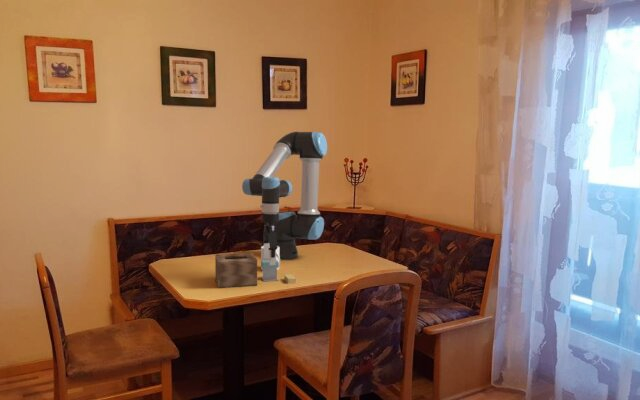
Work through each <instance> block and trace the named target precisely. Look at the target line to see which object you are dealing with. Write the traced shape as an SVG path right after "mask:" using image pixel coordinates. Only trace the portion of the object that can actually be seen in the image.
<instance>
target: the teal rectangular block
mask: <svg viewBox="0 0 640 400" xmlns="http://www.w3.org/2000/svg"><path fill="white" fill-rule="evenodd" d="M278 263H279V262H278V261H277V260H276V265H269V260H266V261H261V260H260V268H261V267H262V268H272V267H278Z"/></svg>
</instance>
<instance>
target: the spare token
mask: <svg viewBox="0 0 640 400" xmlns="http://www.w3.org/2000/svg"><path fill="white" fill-rule="evenodd" d="M283 277H284V278H283V280H284V281H285V282H286V283H287V284H288V285H291V284H297V278H296V276H295V275H293V274H292V273H291V274H290V273H289V274H284V275H283Z"/></svg>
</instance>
